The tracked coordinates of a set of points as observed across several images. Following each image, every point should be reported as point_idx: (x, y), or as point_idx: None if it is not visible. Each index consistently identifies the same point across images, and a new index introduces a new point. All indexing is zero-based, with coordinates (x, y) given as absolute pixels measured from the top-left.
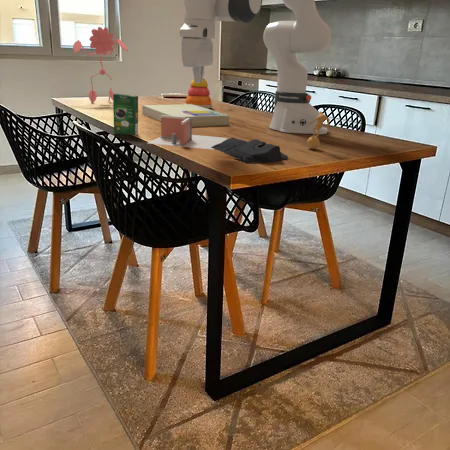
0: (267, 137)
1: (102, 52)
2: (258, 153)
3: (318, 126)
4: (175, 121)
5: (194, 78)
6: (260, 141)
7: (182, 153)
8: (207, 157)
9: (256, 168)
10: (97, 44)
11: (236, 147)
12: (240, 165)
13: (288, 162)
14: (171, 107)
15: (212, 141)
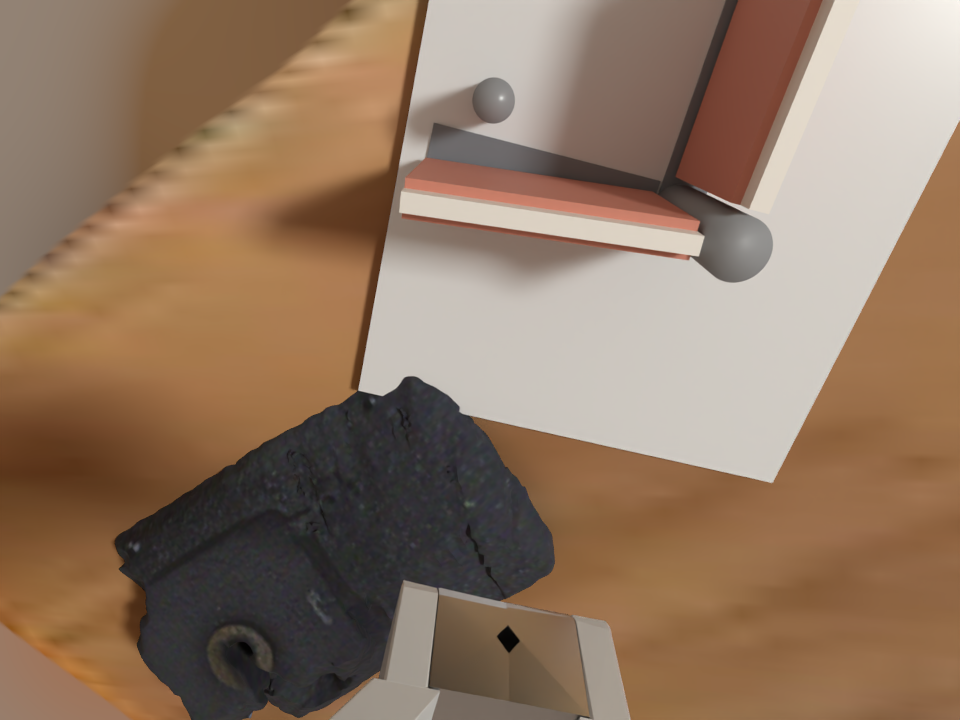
0: (850, 685)
1: None
2: (150, 623)
3: None
4: (762, 89)
5: (394, 641)
6: (304, 671)
7: (229, 188)
8: (174, 352)
9: (34, 573)
10: None
11: (295, 531)
12: (60, 512)
13: None
14: None
15: (630, 384)
